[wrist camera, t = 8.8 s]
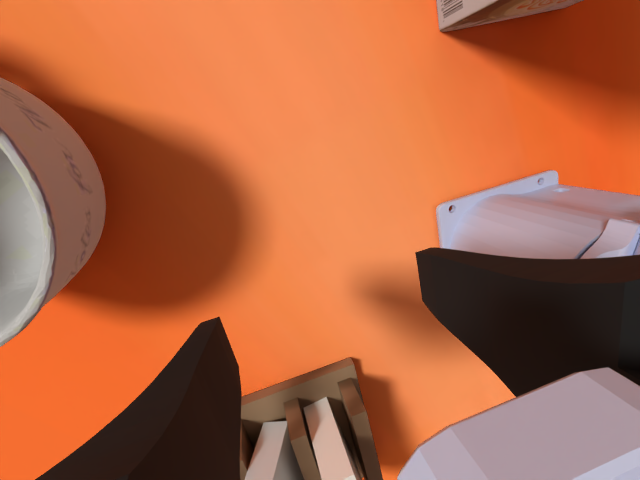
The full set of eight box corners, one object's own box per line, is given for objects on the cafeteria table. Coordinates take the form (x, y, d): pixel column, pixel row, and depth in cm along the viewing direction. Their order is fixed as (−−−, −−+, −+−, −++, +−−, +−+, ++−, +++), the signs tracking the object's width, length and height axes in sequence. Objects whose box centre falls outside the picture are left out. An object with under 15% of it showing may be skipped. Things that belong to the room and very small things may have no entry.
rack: (350, 357, 25) (370, 396, 21) (375, 461, 28) (397, 510, 25) (215, 406, 23) (211, 458, 20) (260, 510, 27) (264, 569, 23)
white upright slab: (326, 396, 24) (353, 474, 19) (354, 460, 27) (386, 545, 21) (303, 407, 24) (324, 489, 18) (334, 470, 26) (360, 559, 21)
